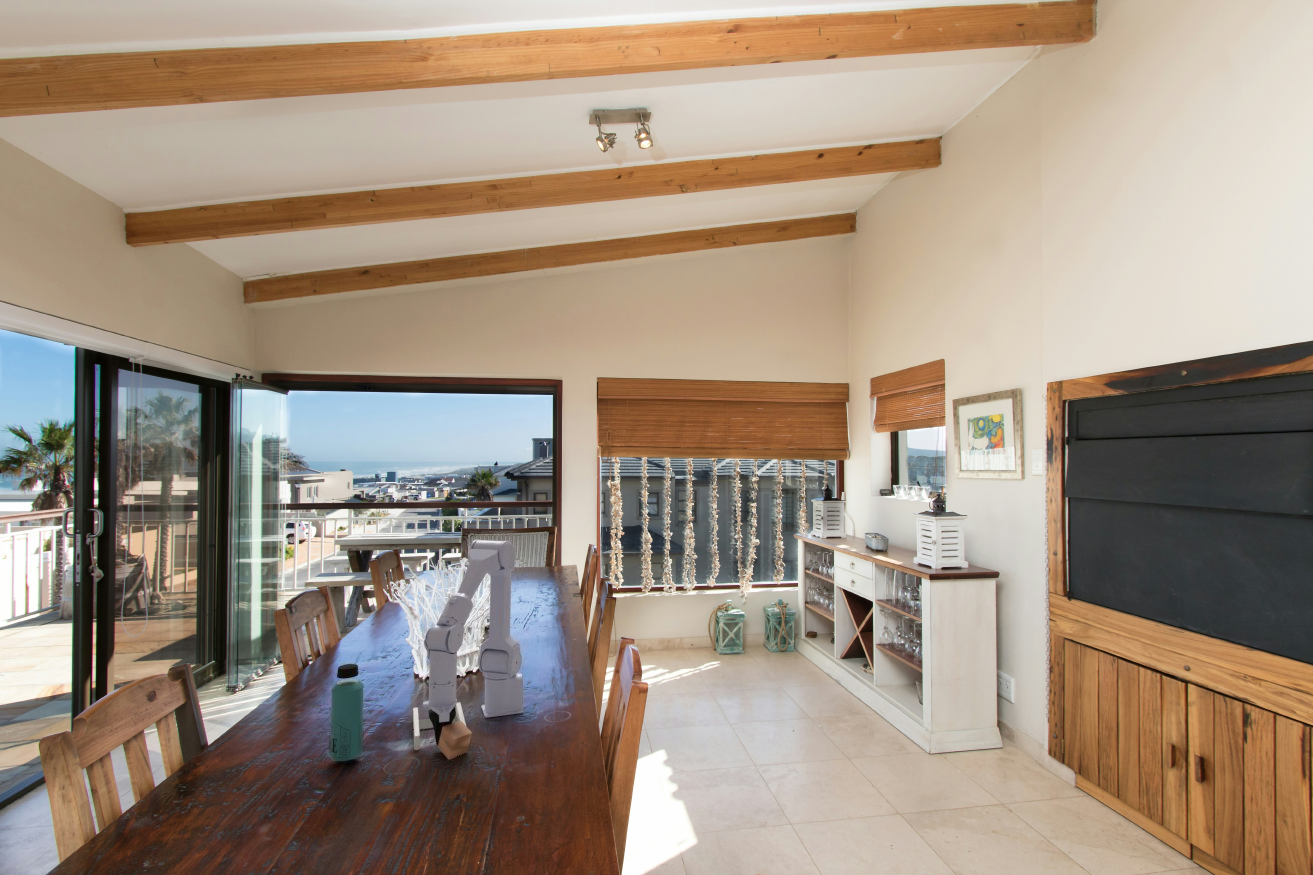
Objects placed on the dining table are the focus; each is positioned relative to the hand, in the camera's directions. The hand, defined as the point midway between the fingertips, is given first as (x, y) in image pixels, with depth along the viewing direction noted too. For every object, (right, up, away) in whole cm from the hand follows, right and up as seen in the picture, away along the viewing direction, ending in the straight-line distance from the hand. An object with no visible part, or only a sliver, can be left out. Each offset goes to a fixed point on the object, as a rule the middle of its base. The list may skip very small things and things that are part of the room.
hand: (441, 743), depth 142 cm
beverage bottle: (-18, -1, -6) cm, 19 cm away
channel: (-4, -2, +10) cm, 11 cm away
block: (+3, -1, -2) cm, 3 cm away
